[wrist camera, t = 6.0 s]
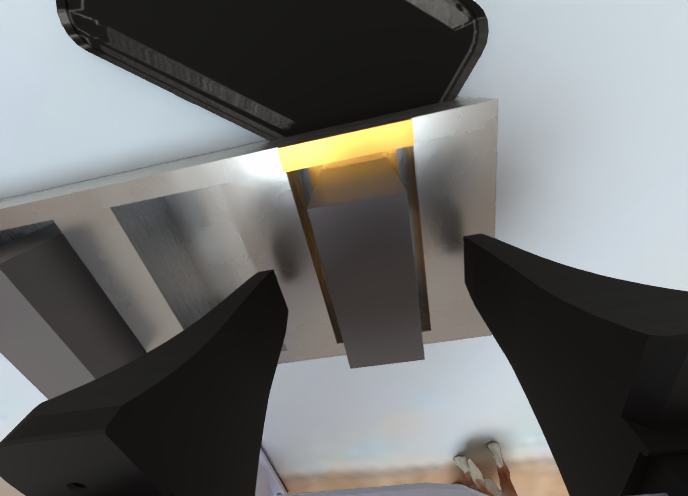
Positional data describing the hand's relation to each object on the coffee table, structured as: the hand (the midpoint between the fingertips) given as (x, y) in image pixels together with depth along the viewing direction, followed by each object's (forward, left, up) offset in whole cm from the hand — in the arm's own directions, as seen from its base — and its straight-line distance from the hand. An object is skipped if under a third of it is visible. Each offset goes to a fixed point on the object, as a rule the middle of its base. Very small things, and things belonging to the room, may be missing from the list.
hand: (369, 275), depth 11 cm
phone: (+9, +2, -5) cm, 10 cm away
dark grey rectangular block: (0, +14, -4) cm, 15 cm away
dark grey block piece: (0, 0, -4) cm, 4 cm away
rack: (0, +7, -5) cm, 9 cm away
